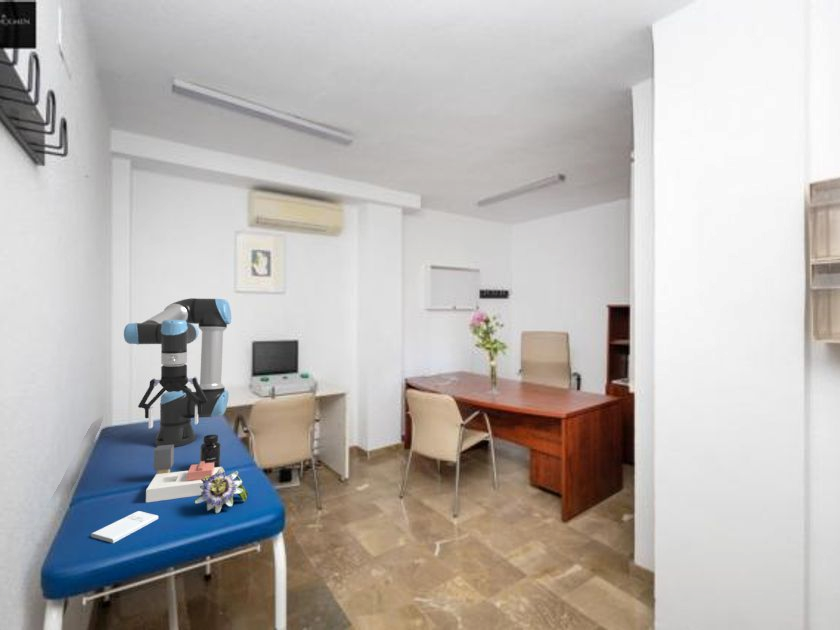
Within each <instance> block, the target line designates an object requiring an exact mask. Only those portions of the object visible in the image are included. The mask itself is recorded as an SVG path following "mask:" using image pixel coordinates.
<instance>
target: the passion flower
mask: <svg viewBox="0 0 840 630" xmlns="http://www.w3.org/2000/svg"><path fill="white" fill-rule="evenodd" d="M238 474H239V472H238V471H237V470H236V471H234V472H231V473H230V474H227V473H226V472H225V469H224V468H223V467H222V468H220V469H219V470H218V472H217V473H215V474H214V475H213V476H212V477H211V476H210V477H209V476H206V477H205V480H203V479H202V478H201V480H202V481H203V485H201V486H200V488H201V489H203V490H204V491H203V492H201V495H198V497H196V498H195V500H194V501H193V504H201V503H203V502H205V503H206V511H207V512H208V511H211V510H214V512H215V514H219V513H220V512H221V509H222V507H223V505H226V506H227V507H230V508H232V507H233V504H234V496H235V495H238V497H240V498H241V500H242V502H246V501H247V498H248V497H247V496H249V492H248V491H247V490H246V489H245V487H244V486H243V485H242V483H243V481H242V480H243V479H241V478H240V477H239V475H238ZM236 479H237V480H236Z"/></svg>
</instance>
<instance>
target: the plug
mask: <svg viewBox="0 0 840 630" xmlns="http://www.w3.org/2000/svg"><path fill="white" fill-rule="evenodd" d="M174 464H175V447H174V444H173V445H162V446H156V448H154V450H153V472H154V471H155V472H157V473H156V474H163V473H171V469H172V467H173V465H174Z"/></svg>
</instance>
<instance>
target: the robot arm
mask: <svg viewBox="0 0 840 630" xmlns="http://www.w3.org/2000/svg"><path fill="white" fill-rule="evenodd" d="M231 323H232V311H231V307H230V303H229V302H228V301H227V300H226V299H222V298H191V297H190V298H185V299H181V300H178V301H175V302H172V303H170V304H169V305H167V306H166V307H165V308H164V309H163V311H161V312H159V313H158V314H156V315H154V316H152V317H151V318H149V319H147V320H145V321H143V322H141V323H140V322H139V323H138V322H133V323H127V324H126V325H125V327H124V329H123V339H124V341H125V342H126V343H127V344H130V345H138V346H139V345H160V349H161V354H160V355H161V356H160V359H161V361H160V362H161V367H160V371H161V373H160V374H161V375H160V379H156V378H152V379H150V381H149V387H148V388H147V389H146V391H145V393H144V394H143V397H142V398H141V400H140V402H139V404H138V405H137V407H138V408H140V409H143V410H144V418H145V419H148V429H152V428H153V427H154V407H153V406H152V405H153V404H154V403H155V402H156V401H157V400H158V399H159V398H160V404H159V406H160V407H159V408H160V416H159V417H160V418H159V421H160V424H159V428H158V432H157V434H156V437H155V440H154V444H155V446H156V447H157V446H162V445H173V444H174V448H175V447H181V446H186V445H189V444H190V443H191V444H192V443H193V442H194V441H195V440H196V433H195V431H194V428H193V425H192V421H191V420H192V419H194V425H198V423H199V418H200V419H201V418H218V417H222V416H223V415H224V414H225V412H226V410H227V407H228V402H229V391H228V390H226V389H225V388H226V386H225V385H223V383H222V369H223V368H222V367H223V341H224V338H223V337H224V331H225V330H227V327H228V325H230V324H231ZM197 324H198V328H197V326H196V325H197ZM199 329H200V331H201V348H200V349H201V351H200V352H201V353H200V372H199V374H200V375H199V377H200V380H199V381H198V377H197V376H194V377H190V378H188V365H187V363H188V344H191V343H193V342H194V341H196V340H197V339H198V336H199ZM188 383H190V384H191V385H192V386H193V387H194V389H195V391H193V390H192V389H191V388H190V387H188V386H187V384H188ZM158 384H159V385H160V386H161V387H162V388H161V390H159V391H158V393H156V395H155V396H154V397H152V399H151V400H150V401H149V402H148V403H146V402H147V401H148V399H149V397H150V395H151V394H152V392H153V390H154V389H155V387H157V385H158Z"/></svg>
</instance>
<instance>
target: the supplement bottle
mask: <svg viewBox="0 0 840 630" xmlns="http://www.w3.org/2000/svg"><path fill="white" fill-rule="evenodd" d="M221 445H222V444H221V443H220V442H219V435H218V434H208V435H205V436H203V443H202V444H201V445H200V451H199V452H200V453H199V463H200V462H201V461H205V463H213V462H214V468H215V467H221V448H222V447H221Z"/></svg>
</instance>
